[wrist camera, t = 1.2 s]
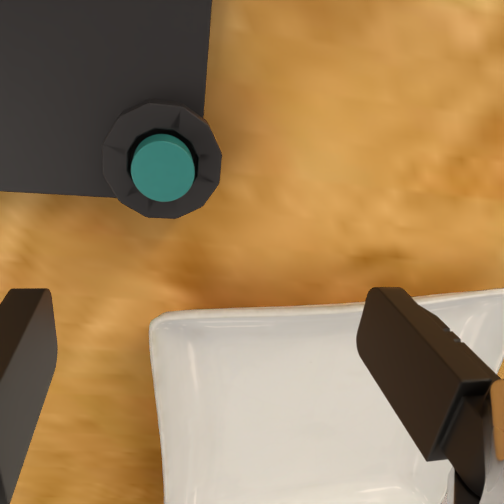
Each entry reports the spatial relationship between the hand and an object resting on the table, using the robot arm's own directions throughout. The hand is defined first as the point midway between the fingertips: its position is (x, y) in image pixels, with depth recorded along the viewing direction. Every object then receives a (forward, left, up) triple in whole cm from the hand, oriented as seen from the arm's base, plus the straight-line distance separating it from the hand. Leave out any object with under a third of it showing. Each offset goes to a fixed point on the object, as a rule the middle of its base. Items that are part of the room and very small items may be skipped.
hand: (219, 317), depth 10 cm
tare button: (-1, -2, -13) cm, 13 cm away
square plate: (+21, +13, -16) cm, 29 cm away
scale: (-5, -5, -15) cm, 17 cm away
